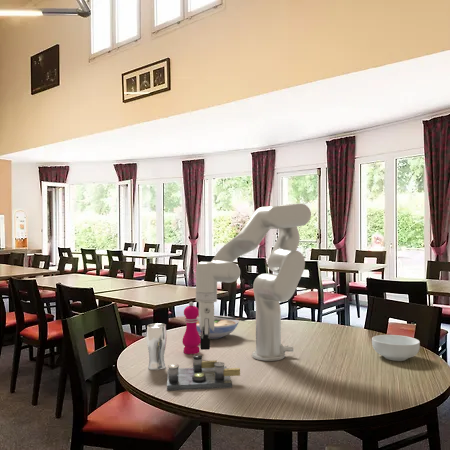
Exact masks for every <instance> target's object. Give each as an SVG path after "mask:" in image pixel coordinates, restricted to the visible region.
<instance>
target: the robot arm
mask: <svg viewBox="0 0 450 450" xmlns="http://www.w3.org/2000/svg"><path fill="white" fill-rule="evenodd" d="M311 218H312V212H311V209H310V207H309V206H308V205H306V204H305V203H291V204H290V203H289V204H287V203H286V204H281V205H270V206H269V205H268V206H261V207H259V208H257V209H256V210H254V212H253V214H252V215H251V216H250V218H249V219H248V220H247V222H246V223H245V225H244V226H243V228H242V229H241V230H240V231H239V232H238V234H237V235H236V236H234V237H233V238H232V239H230V240H229V241H228V242H227V243H225V244H224V245H223V246H222V247H221V248H220V249H219V250H218V252H217V253H216V254H215V255H214V257H213V258H212V259H211V261H200V262H198V263H196V266H195V267H196V269H195V271H196V272H195V275H196V276H195V302H197V303H198V310H199V315H198V317H199V326H200V330H201V335H200V340H201V342H200V344H199V345H200V347H199V349H200V351H203V350H204V351H207V350H208V351H209V350H210V347H211V346H210V345H211V339H210V328H211V330H212V331H214V316H215V303H217V301H218V283H219V282H220V283H227V284H229V283H234V282H236V281H237V280H239V278H240V276H241V269H240V267H239V265H238V264H237V263H235V261H236V260H237V259H238V258H240V257H241V256H244V255H246V254H248V253H250V252H252V251H254V250H256V249H257V248H258V246H259V245H260V244H261V242H262V241H263V240H264V238H265V237H266V235H267V234H268V233H269V231H270V230H277V229H278V236H277V239H276V242H275V243H274V246H273V248H272V251H271V252H270V254H269V257H268V259H267V267H268V269H269V270H270V271H271V272H273V273H274V274H273V273H261V274H259V275H257V276H256V278H255V279H254V281H253V284H252V289H253V295H254V296H253V297H254V302H255V350H253V351H252V353H251V356H252V358H254V359H255V360H258V361H265V362H274V361H281V360H283V359H285V357H286V352H294V346H292V345H291V346H289V345H283V344H282V330H281V329H282V326H281V325H282V322H281V321H282V318H281V316H282V315H281V314H282V312H281V311H282V310H281V305H280V303H284V302H287V301H289V300H290V299H291V298H292V297H293V295H294V294H295V292H296V289H297V287H298V284H299V282H300V280H301V278H302V275H303V273H304V272H305V271H304V270H305V266H306V261H305V257H304V254H303V253H302V252H300V251H299V250H297V249H298V246H299V244H300V232H299V228H298V227H303V226H305V225H307V224H308V223H309V222H310V220H311ZM275 273H277V274H275Z"/></svg>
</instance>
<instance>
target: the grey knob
mask: <svg viewBox="0 0 450 450" xmlns="http://www.w3.org/2000/svg"><path fill="white" fill-rule="evenodd" d="M214 366H215V379H218V380H221V379H224V376H230V377H236V376H238V377H240V376H241V368H240V367H232V368H231V367H229V368H227V369H224V367H225V362H223V361H217V362H216V363H214Z"/></svg>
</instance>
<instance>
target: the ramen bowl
mask: <svg viewBox="0 0 450 450" xmlns="http://www.w3.org/2000/svg"><path fill="white" fill-rule="evenodd" d="M197 318H198V319H197V320H198V322H197V324H196V326H197V331H198V333H199V336H201V330H200V326H199V316H197ZM246 321H248V319H247V318H244V317H243V318H241V317H233V316H226V315H214V331H212V330H211V328H210V340H218V339H219V340H220V339H221V338H223V337H225V336H226V337H227V336H228V335H230V334H232V333H233V332H234V331H235V330H236V328H237V327H238V325H239V323H240V322H246Z"/></svg>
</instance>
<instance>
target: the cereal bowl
mask: <svg viewBox="0 0 450 450" xmlns="http://www.w3.org/2000/svg"><path fill="white" fill-rule="evenodd" d="M420 343H421V342H420V340H419V339H417V338H414V337H411V336H407V335H400V334H399V335H398V334H380V335H374V336H373V337H371V346H372V348H373V350H374V351H375V352H376V353H377V354H379V355H380V356H382V357H384V358H385V359H386V360H389V361H395V362H402V361H403V362H404V361H406V360H408V359H410V358H414V357H415V356H417V354H418V353H419V351H420V347H421V344H420Z"/></svg>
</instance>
